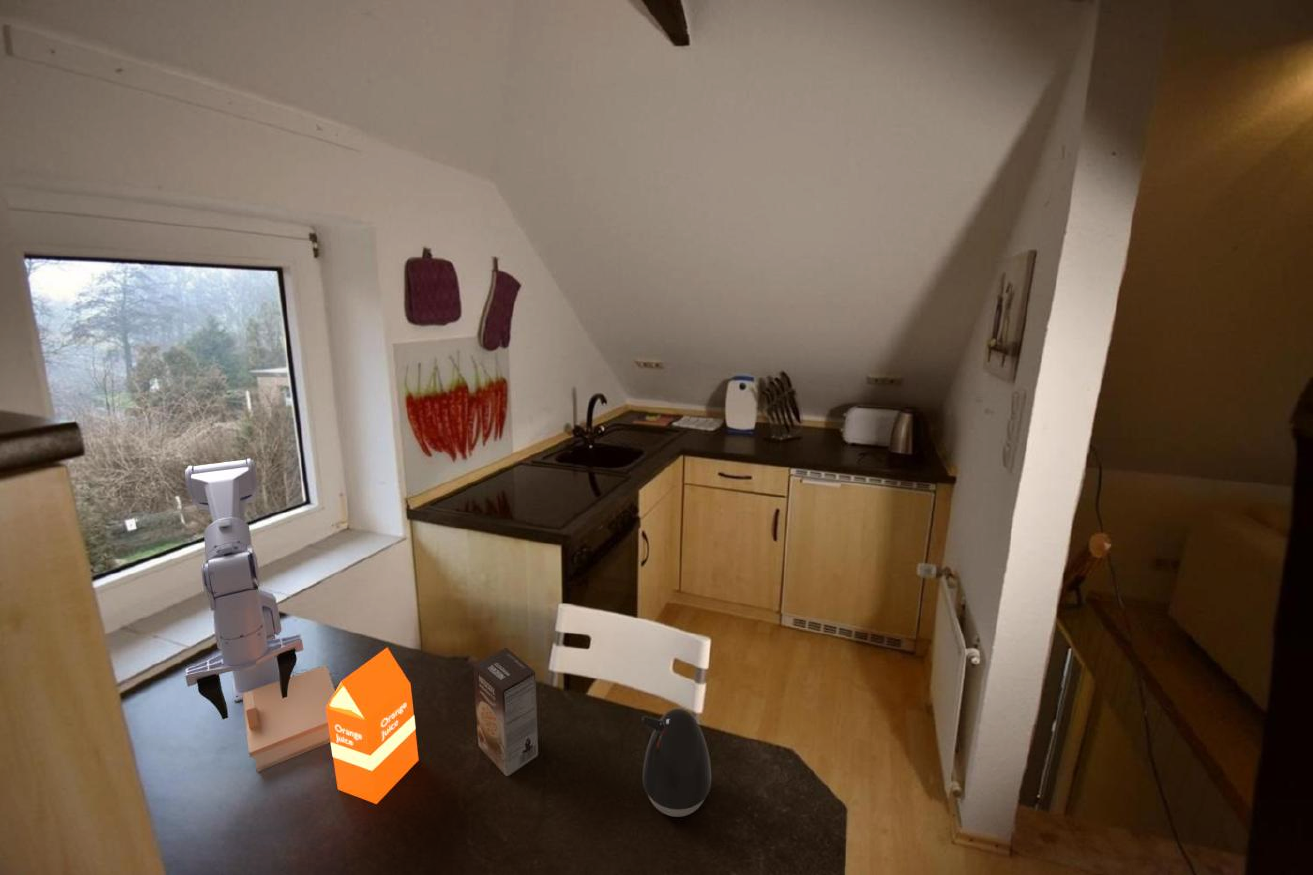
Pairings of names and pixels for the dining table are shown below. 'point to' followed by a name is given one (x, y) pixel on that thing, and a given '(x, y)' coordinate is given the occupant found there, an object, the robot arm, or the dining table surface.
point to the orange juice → (372, 728)
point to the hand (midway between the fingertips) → (255, 704)
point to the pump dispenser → (676, 764)
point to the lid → (287, 710)
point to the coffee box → (506, 710)
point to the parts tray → (292, 749)
